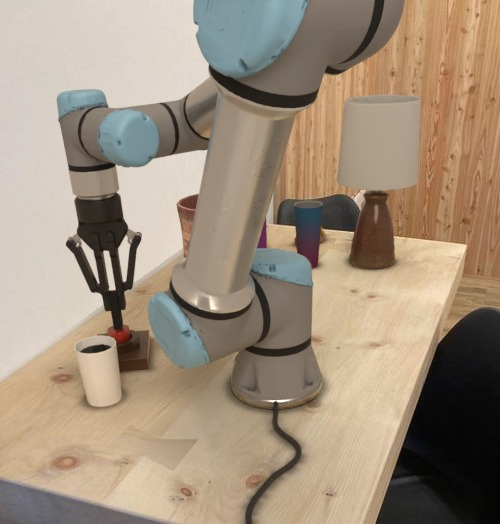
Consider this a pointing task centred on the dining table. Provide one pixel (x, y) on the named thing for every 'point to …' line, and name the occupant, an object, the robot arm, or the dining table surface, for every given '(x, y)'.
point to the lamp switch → (120, 333)
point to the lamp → (378, 167)
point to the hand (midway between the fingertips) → (118, 326)
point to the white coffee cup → (99, 370)
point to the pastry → (322, 236)
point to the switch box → (133, 351)
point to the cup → (308, 229)
